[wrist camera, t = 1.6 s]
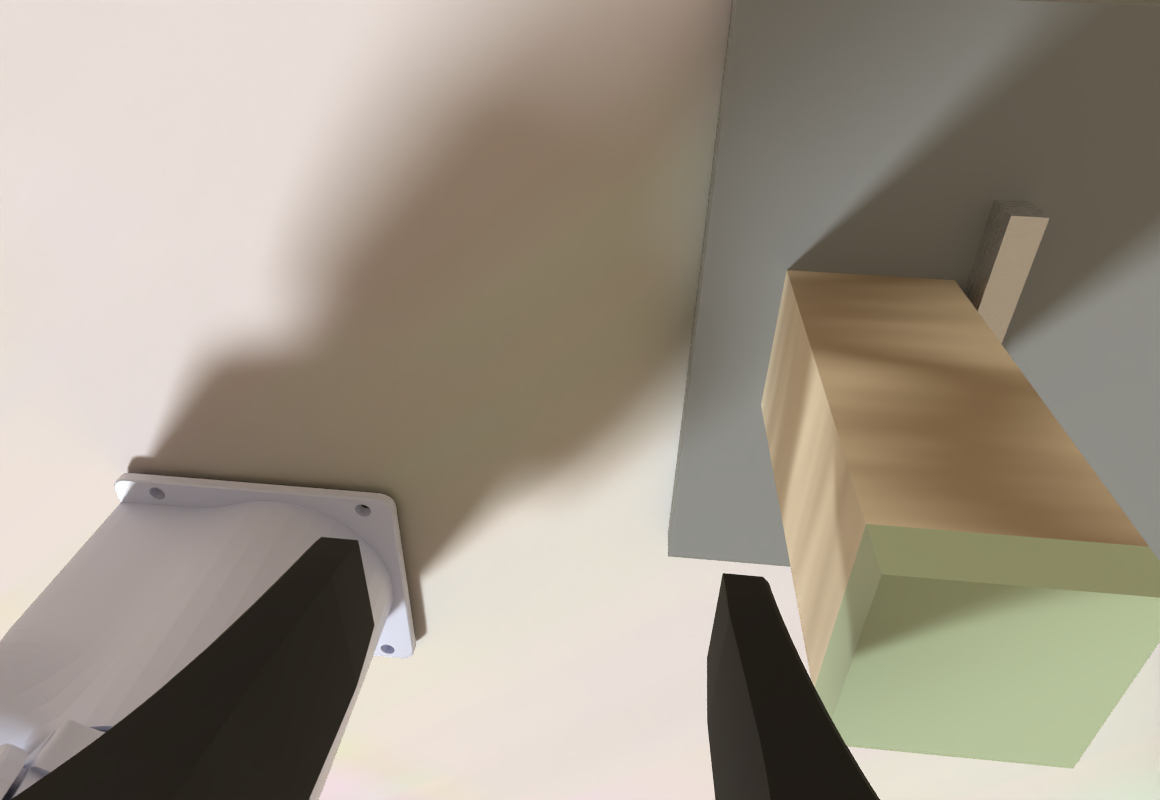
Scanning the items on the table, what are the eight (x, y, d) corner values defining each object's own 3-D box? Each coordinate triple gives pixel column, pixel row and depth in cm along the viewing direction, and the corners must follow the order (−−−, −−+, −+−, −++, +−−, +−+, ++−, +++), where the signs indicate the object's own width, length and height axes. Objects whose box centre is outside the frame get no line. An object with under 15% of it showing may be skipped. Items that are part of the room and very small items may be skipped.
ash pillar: (761, 405, 21) (823, 743, 13) (786, 270, 19) (881, 574, 10) (911, 415, 21) (1072, 768, 12) (954, 280, 19) (1188, 600, 10)
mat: (668, 534, 25) (668, 579, 24) (734, -16, 16) (742, -5, 15) (1241, 581, 24) (1284, 632, 23) (1649, 19, 15) (1770, 35, 14)
